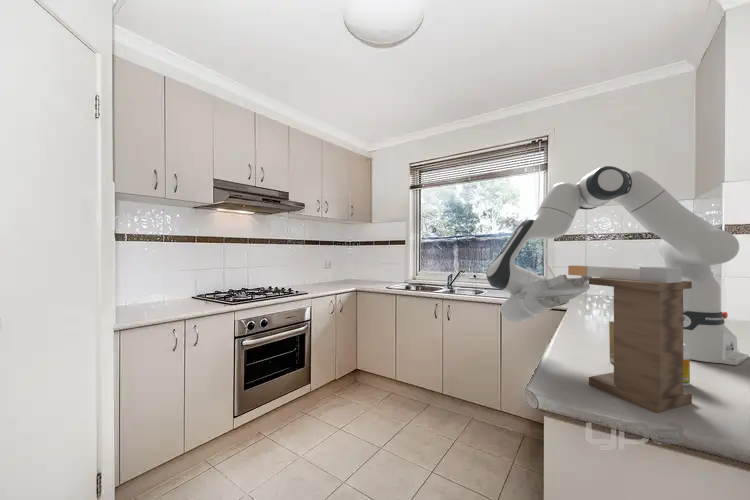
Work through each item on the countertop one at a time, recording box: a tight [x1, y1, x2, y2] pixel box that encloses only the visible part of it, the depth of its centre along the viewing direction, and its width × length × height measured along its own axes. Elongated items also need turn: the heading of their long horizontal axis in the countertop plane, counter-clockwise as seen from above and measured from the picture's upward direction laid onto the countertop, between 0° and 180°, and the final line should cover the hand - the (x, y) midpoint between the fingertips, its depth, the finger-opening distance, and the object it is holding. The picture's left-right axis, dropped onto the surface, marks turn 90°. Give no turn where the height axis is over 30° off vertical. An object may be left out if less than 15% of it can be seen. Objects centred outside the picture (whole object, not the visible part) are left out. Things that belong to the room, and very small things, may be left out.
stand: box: [588, 277, 693, 413], centre depth 73 cm, size 12×14×26 cm
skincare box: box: [608, 320, 614, 364], centre depth 93 cm, size 6×4×12 cm
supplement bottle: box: [683, 343, 691, 387], centre depth 80 cm, size 5×5×10 cm
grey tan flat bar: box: [567, 264, 682, 283], centre depth 78 cm, size 5×23×3 cm, turn 20°
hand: (577, 276), depth 87 cm, fingers open, 8 cm apart
